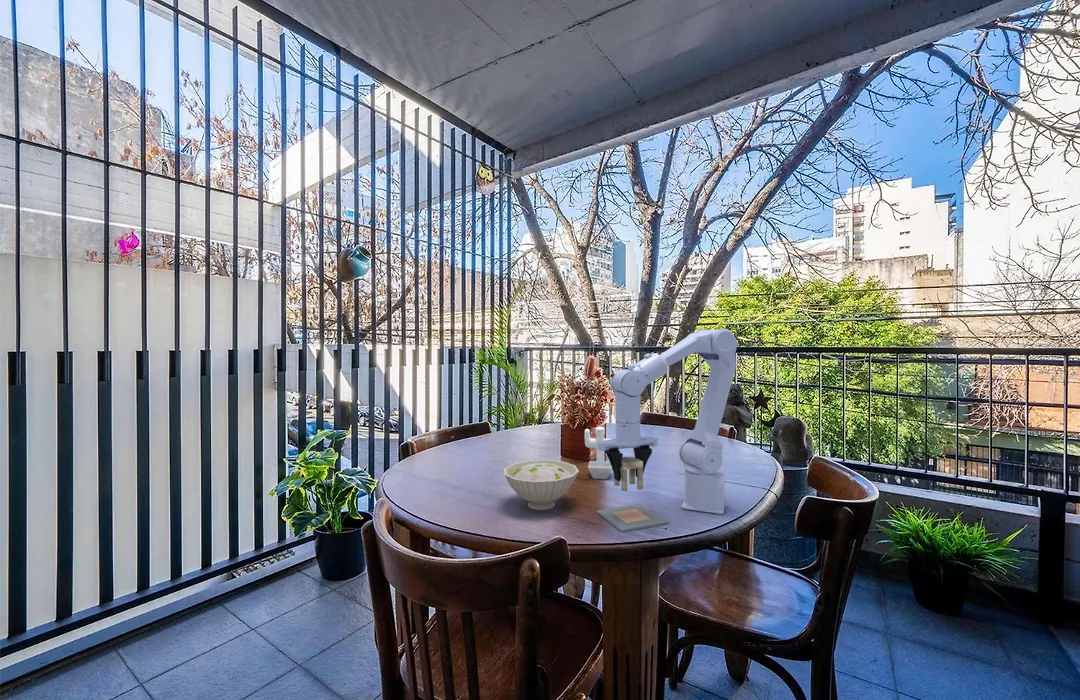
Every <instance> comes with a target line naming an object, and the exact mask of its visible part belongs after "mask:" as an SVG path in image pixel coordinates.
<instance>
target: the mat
mask: <svg viewBox="0 0 1080 700" xmlns="http://www.w3.org/2000/svg"><path fill="white" fill-rule="evenodd" d="M596 514H597V515H599V516H600V517H601V518H602V519H603V520H605V521H607V523H609V524H610V525H611V526H613V528H615V529H616V530H618V531H619V532H621V533H625V532H626V533H627V532H632V531H637V530H643V529H649V528H652V527H658V526H664V525H665V526H666V525H669V521H668V520H667V519H665V518H663V517H662V516H661V515H659V514H657V513H655V512H653V511H652V510H650V509H649V508H647V507H645V506H643V504H640V503H635V504H629V505H625V506H624V505H623V506H617V507H612V508H611V507H610V508H606V509H605V508H604V509H600V510H596Z"/></svg>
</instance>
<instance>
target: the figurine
mask: <svg viewBox="0 0 1080 700" xmlns="http://www.w3.org/2000/svg"><path fill="white" fill-rule="evenodd" d="M594 429H595V430H594V431H595V432H594V433H595V438H594V437H591V432H590V429H589V428H586V429H584V445H585V447H586V448H591V449H592V448H593V449H594V448H595V451H596V453H595V455H596V460H595V461H594V460H590V461H589V462H588V466H587V469H588V472H589V473H590V475H591V477H592V479H594V480H596V479H598V480H599V479H601V480H608V479H609V478H610V475H611V473H612V472H613V470H612V466H611V463H610V461H605V451H600V450H598V441H605V440H610V439H611V438H605V434H606V429H605V427H604V426H596V427H595V428H594Z"/></svg>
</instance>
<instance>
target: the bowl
mask: <svg viewBox="0 0 1080 700" xmlns="http://www.w3.org/2000/svg"><path fill="white" fill-rule="evenodd" d="M503 474H504V476H505V479H506V481H507V483H508V485H509V486H510V487H511V489H512V490H513V491H514V492H515V493H516V494H517V495H518V497H520V498H522V499H523V500H525V501H527V502H528V503H527V507H528V508H530V509H532V510H538V511H543V510H551V509H553V508H554V507H555V506H556V503H555V502H556V501H557V500H558V499H561V498H562V497H563V496H564V495H565V493H566V492H567V491H568V490H569V489H570V487H572V486H573V484H574V483H575V480H576V478H577V476H578V474H579V469H578V468H577V466H576V465H575V464H572V463H568V462H566V461H562V460H551V459H537V460H536V459H535V460H525V461H520V462H515V463H512V464H509V465H508V466H507V467H504V469H503Z"/></svg>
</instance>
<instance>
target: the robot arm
mask: <svg viewBox="0 0 1080 700" xmlns="http://www.w3.org/2000/svg"><path fill="white" fill-rule="evenodd" d="M738 344H739V342H738V340H737V339H736V337H735V335H734V334H733V332H732V331H731V330H730V329H727V328H718V329H704V328H701V329H697V330H696V331H694V332H692V333H689V334H688V335H687V336H686V337H685V338H683V339H682V340H680V341H679V342H678V343H676V344H674V345H673V346H671V347H670V348H668V349H667V350H665V351H664V352H662V353H661V354H657V353H646V354H644V355H643V359H641V360H639V361H638V362H636V363H634V364H633V363H631V364H628V365H627V367H628V368H627V369H621V370H618V371H615V372H616V373H614V376H613V377H612V380H611V381H610V387H611V389H612V390H613V391H614V397H615V398H614V399H615V400H614V401H615V403H614V404H615V437H614V438H609V439H610V440H605V441H598V450H600V451H604V454H606V456H607V458H608V460H609V461H608V462H610V463H611V466H612V472H613V480H614V479H616V480H617V481H620V482H621V463H622V457H624V454H623V453H622V452H621V451H620V450H622V449H632V450H633V454H634V457H635V458H637V459H639V460H641V461H643V474H644V473H645V470H646V466H647V463H648V461H649V459H650V457H651V455H652V453H653V449H652V447H654V448H655V447H658V446H659V441H658V438H657V437H655V436H641V395H642V394H643V392H644V390H645V388H646V387H647V386H648V385H650V384H651V383H653V382H654V381H656V380H658V379H660V378H662V377H663V376H665V375H666V374H667V372H668V367H670V366H671V365H674V364H675V363H678V362H680V361H682V360H684V359H685V358H686V357H688V356H691V355H693V354H694V353H696V354H697V355H699V357H700V358H702V359H703V360H704V361H705V362H706V364H707V365H708V367H709V369H710V372H709V375H708V379H707V383H706V386H705V389H704V394H703V397H702V400H701V401H702V402H701V404H700V408H699V412H698V415H697V419H696V423H695V425H694V426H695V427H694V428H693V429H692V430H691V431H689V432H688V433H687V434H686V436H685V439H684V441H683V443H682V444H681V445H680V447H679V449H678V456H679V459H680V461H681V462H683V467H684V491H685V492H684V500H683V502H682V504H681V509H684V510H689V511H697V512H705V513H712V514H713V513H714V514H720V515H723V514H724V513H725V505H726V503H727V496H725V495H726V492H725V491H726V488H725V486H726V484H725V483H726V482H725V479H726V478H725V473H724V472H720V471H719V469H721V467H722V465H723V454H722V452H723V448H724V447H723V446H724V445H723V443H722V441H721V440H720V438H719V436H718V435H719V431H720V428H721V427H720V426H721V423H722V419H723V416H724V414H725V413H724V412H725V409H726V406H727V405H726V404H727V400H728V398H729V394H730V390H731V386H732V383H733V379H734V375H735V372H736V369H737V368H736V367H737V361H736V351H737V347H738ZM650 447H651V448H650ZM635 478H637V468H635Z"/></svg>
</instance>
